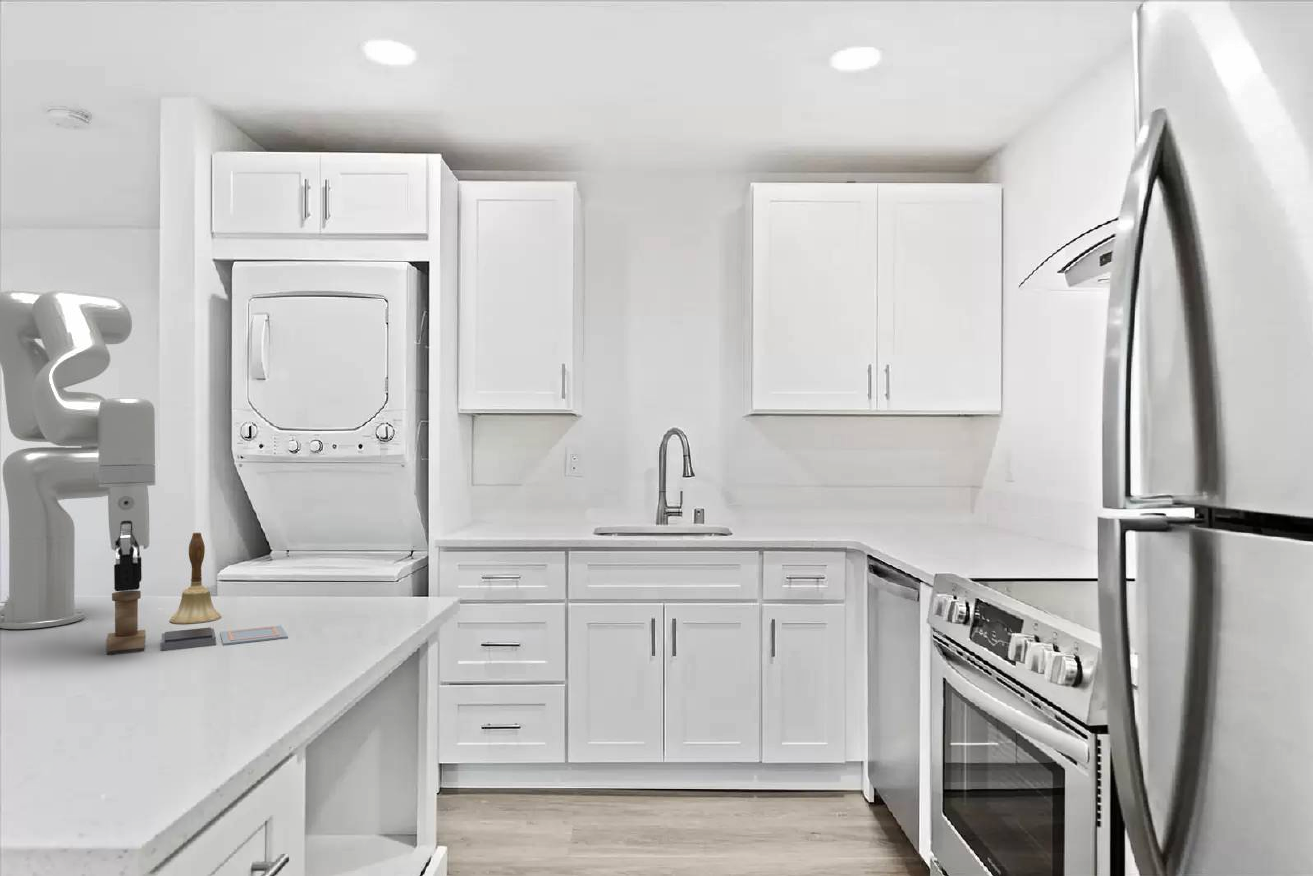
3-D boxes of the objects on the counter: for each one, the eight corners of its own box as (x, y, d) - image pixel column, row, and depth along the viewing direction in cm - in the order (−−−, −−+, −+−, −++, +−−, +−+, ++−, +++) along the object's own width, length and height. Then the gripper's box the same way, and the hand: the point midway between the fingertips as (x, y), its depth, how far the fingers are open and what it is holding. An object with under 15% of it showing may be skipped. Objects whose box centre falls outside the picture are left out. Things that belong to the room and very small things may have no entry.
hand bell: (230, 615, 155) (231, 530, 156) (202, 625, 147) (202, 535, 147) (189, 614, 156) (189, 530, 156) (158, 624, 148) (159, 535, 148)
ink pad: (161, 650, 129) (161, 641, 129) (161, 640, 135) (161, 631, 135) (215, 644, 132) (215, 635, 132) (213, 635, 139) (213, 626, 139)
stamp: (106, 655, 126) (106, 596, 126) (108, 648, 130) (108, 591, 130) (144, 651, 129) (144, 593, 129) (145, 644, 133) (145, 588, 133)
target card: (223, 645, 132) (223, 642, 132) (220, 633, 140) (220, 631, 140) (287, 638, 137) (287, 635, 137) (280, 627, 145) (280, 624, 145)
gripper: (154, 476, 124) (155, 590, 124) (156, 475, 139) (157, 577, 138) (94, 478, 120) (95, 596, 120) (102, 477, 135) (103, 582, 135)
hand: (128, 586), depth 129 cm, fingers open, 9 cm apart
